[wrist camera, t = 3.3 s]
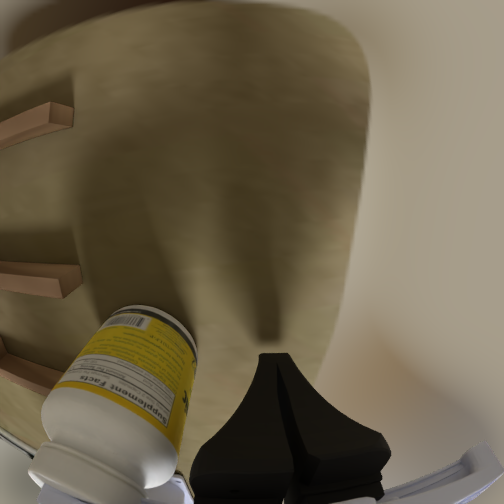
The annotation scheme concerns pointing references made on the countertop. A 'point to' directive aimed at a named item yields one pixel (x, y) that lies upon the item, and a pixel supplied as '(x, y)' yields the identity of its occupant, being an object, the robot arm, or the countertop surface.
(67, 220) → the countertop surface
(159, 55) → the countertop surface
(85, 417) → the supplement bottle
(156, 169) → the countertop surface
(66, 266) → the rack
